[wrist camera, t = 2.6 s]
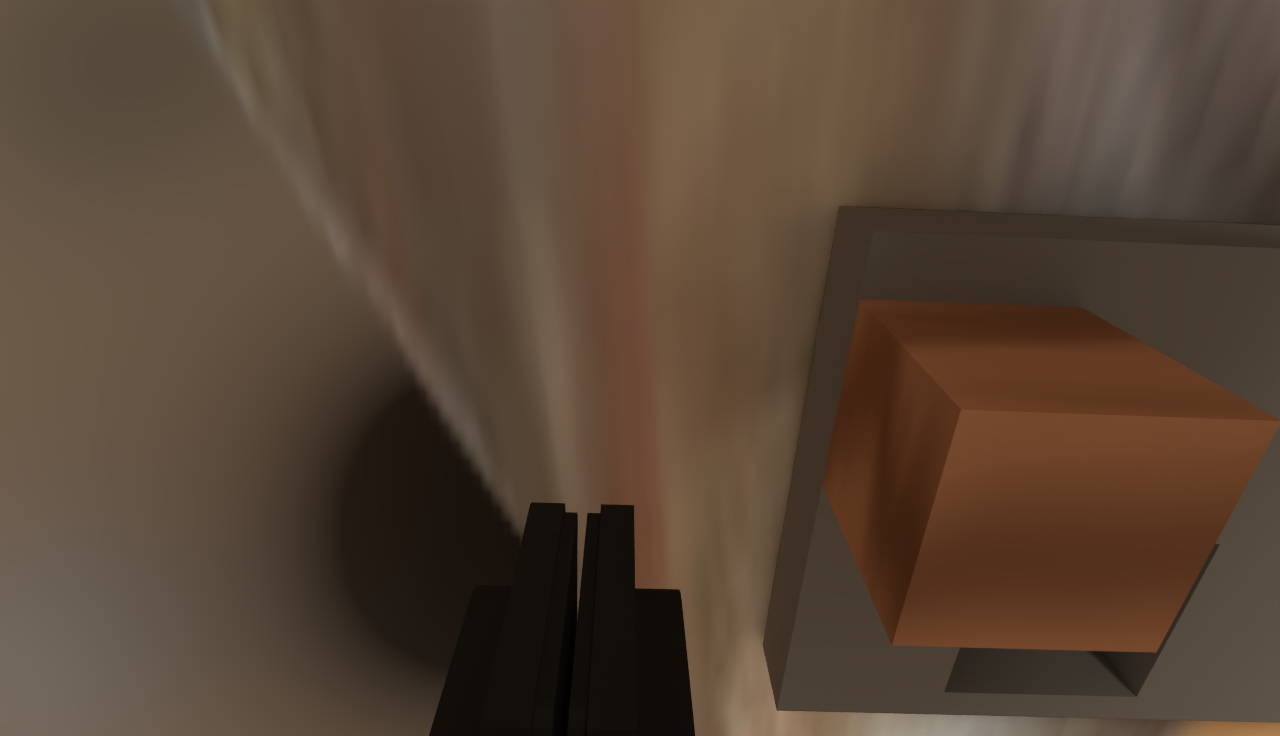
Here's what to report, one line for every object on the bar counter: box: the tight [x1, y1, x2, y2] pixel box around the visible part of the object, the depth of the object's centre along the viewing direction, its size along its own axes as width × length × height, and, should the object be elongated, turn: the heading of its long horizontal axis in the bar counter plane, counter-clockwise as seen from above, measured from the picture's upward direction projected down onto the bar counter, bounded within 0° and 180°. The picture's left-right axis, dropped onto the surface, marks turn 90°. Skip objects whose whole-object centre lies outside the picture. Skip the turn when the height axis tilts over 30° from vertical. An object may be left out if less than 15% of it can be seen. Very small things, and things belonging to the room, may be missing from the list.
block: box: [822, 298, 1280, 653], centre depth 13 cm, size 5×5×5 cm
